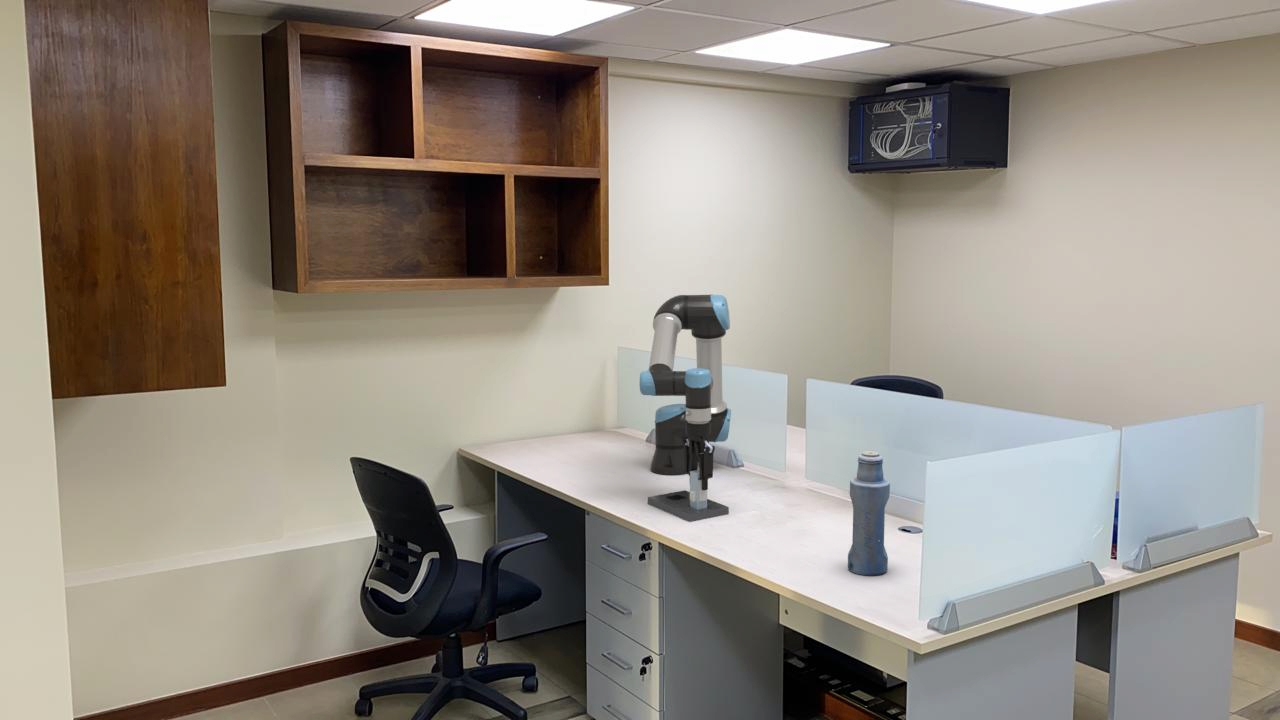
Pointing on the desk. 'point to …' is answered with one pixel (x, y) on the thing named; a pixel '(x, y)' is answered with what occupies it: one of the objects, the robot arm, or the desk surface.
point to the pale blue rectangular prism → (695, 491)
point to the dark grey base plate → (686, 506)
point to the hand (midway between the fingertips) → (698, 498)
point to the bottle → (868, 516)
